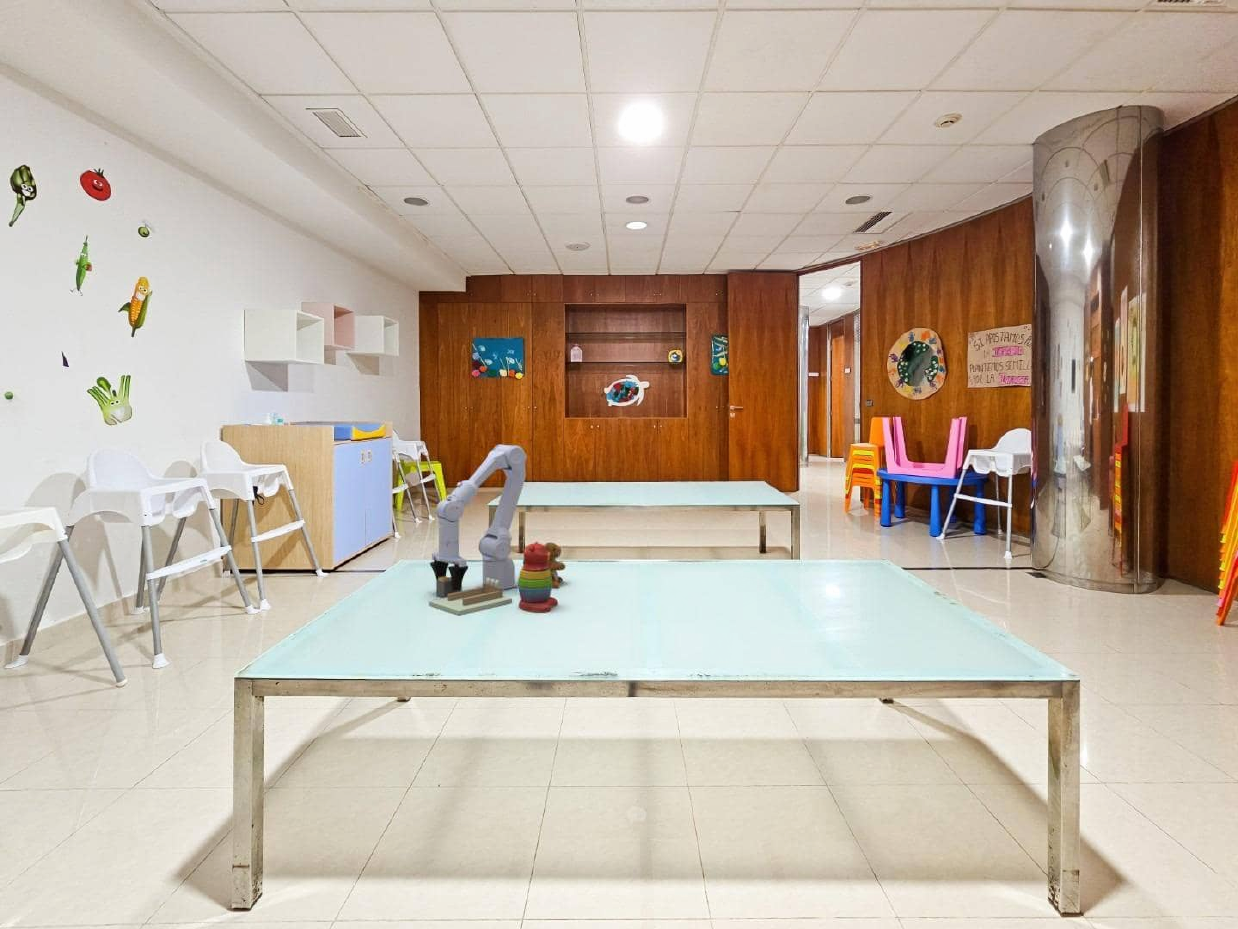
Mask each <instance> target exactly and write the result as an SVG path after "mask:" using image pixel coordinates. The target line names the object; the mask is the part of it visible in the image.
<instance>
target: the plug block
mask: <svg viewBox="0 0 1238 929" xmlns="http://www.w3.org/2000/svg"><path fill="white" fill-rule="evenodd" d="M435 584H436V585H435V586H436V589H435V593H436V594H435V596H436V598H438V599H442V598H446V597H447V594H451V593H456V592H460V591H463V583H462V584H461V588H460V590H455V591H454V590H453V589H452V579H451V576H449V577H447V576H446V577H445V576H443V577H438V580H436V579H435Z"/></svg>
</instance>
